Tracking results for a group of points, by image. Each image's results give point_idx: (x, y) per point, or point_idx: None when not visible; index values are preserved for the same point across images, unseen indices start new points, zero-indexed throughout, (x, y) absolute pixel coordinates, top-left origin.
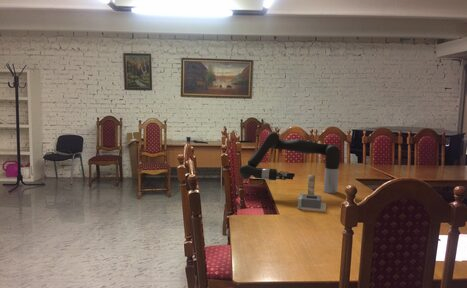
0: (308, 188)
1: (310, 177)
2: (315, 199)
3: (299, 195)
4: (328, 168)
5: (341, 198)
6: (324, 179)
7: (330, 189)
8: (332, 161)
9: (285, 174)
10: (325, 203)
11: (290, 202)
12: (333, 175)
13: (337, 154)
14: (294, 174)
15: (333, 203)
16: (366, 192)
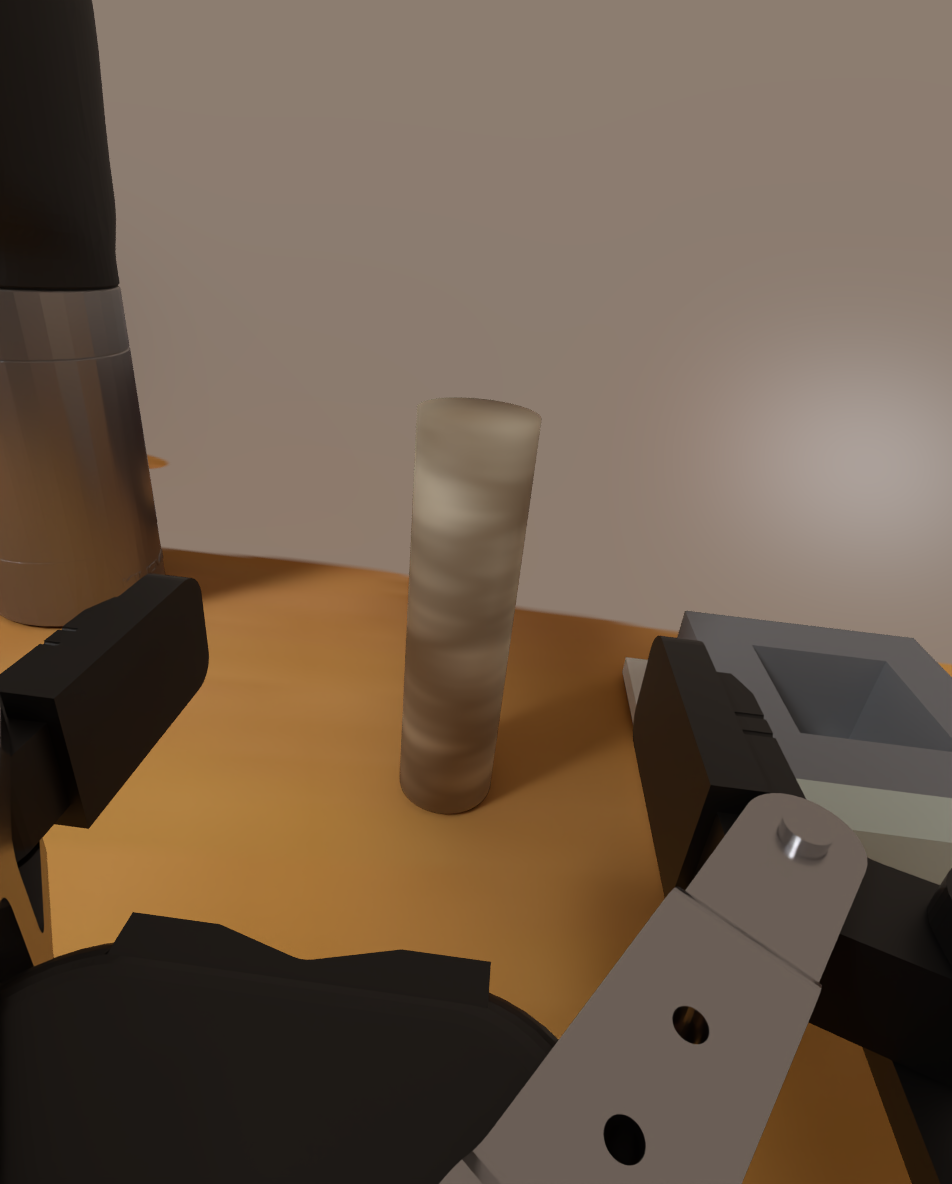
0: (485, 664)
1: (534, 457)
2: (922, 672)
3: (910, 836)
4: (64, 286)
5: (342, 566)
6: (4, 476)
7: (148, 555)
8: (85, 159)
9: (27, 928)
10: (637, 662)
11: (764, 1142)
12: (132, 377)
13: (95, 36)
14: (198, 601)
15: (529, 625)
16: (166, 461)
